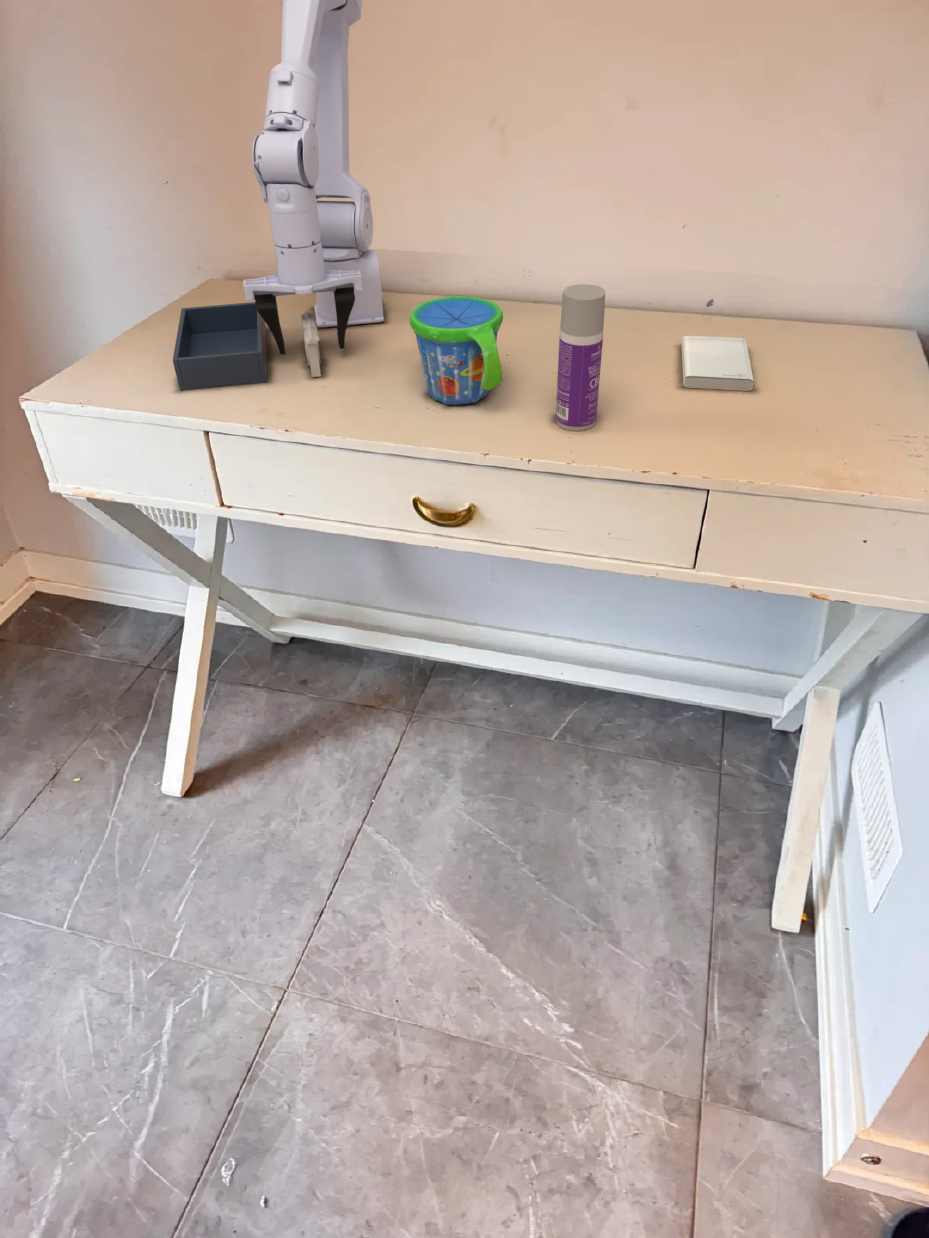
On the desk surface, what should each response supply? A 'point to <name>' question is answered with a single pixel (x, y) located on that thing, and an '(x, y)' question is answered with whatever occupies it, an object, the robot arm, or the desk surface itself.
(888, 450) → the desk surface
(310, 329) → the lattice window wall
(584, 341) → the container
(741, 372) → the hard drive
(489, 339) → the snack cup
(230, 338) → the tote
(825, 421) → the desk surface
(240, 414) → the desk surface
